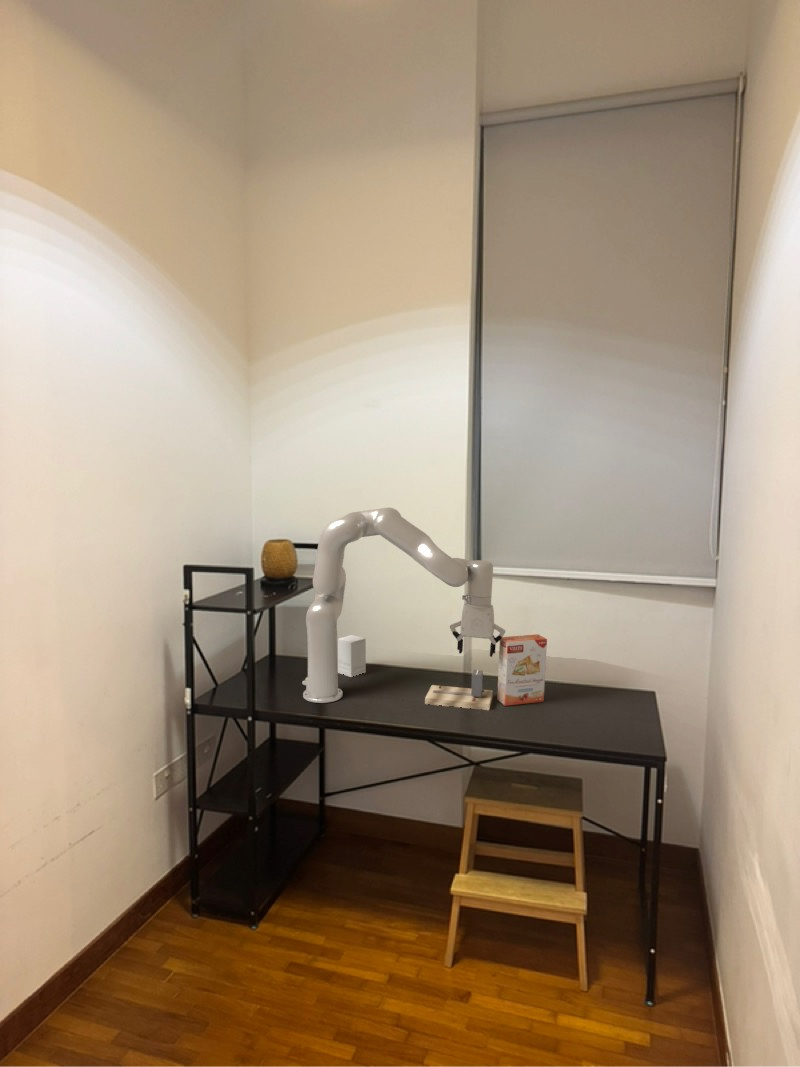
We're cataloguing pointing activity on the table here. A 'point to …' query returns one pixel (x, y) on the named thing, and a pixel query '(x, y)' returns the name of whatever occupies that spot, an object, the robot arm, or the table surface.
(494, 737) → the table surface
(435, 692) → the board
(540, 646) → the cracker box
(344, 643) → the supplement box
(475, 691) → the fader tab
